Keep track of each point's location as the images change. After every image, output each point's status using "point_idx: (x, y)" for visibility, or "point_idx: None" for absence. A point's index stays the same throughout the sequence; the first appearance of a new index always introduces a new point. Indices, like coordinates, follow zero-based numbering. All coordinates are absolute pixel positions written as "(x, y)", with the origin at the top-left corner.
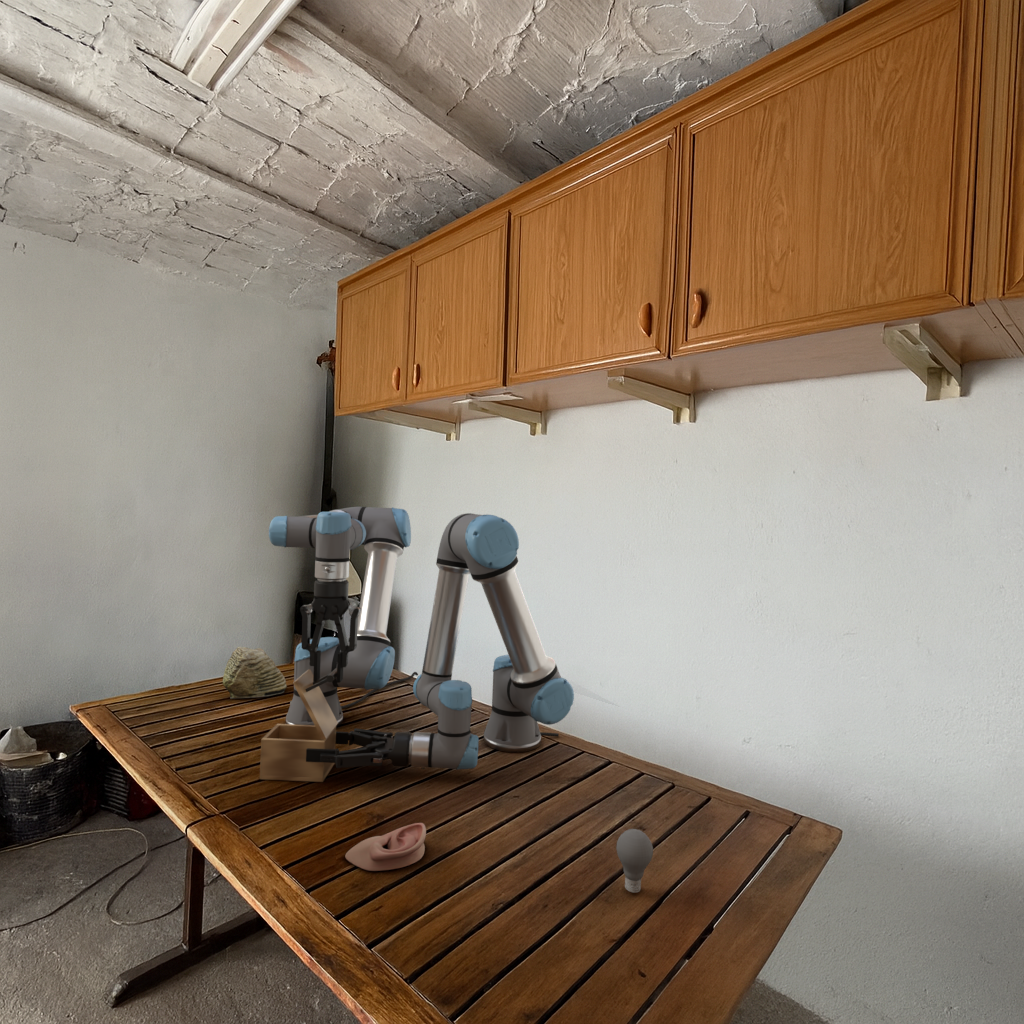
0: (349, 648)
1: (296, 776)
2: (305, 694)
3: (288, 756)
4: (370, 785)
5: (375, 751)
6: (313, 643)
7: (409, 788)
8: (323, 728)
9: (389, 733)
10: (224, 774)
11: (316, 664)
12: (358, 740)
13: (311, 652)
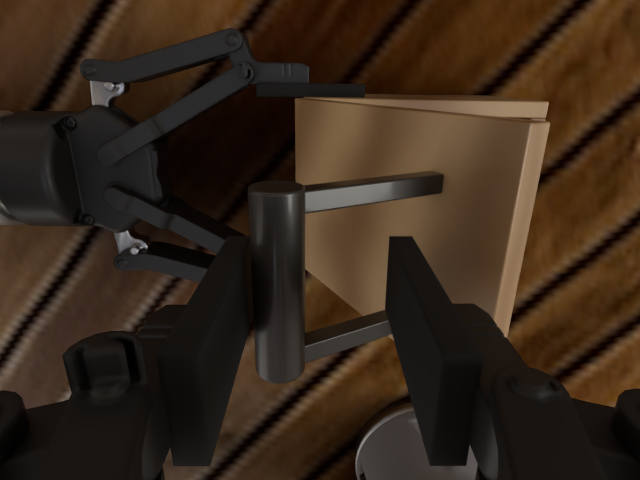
0: (6, 418)
1: (385, 94)
2: (429, 140)
3: (425, 97)
4: (165, 82)
5: (127, 121)
6: (561, 463)
7: (48, 70)
8: (312, 123)
9: (122, 259)
10: (595, 123)
11: (420, 292)
12: (226, 232)
13: (521, 366)
